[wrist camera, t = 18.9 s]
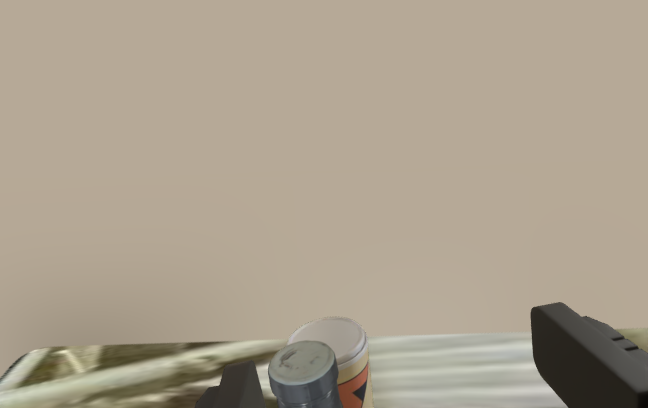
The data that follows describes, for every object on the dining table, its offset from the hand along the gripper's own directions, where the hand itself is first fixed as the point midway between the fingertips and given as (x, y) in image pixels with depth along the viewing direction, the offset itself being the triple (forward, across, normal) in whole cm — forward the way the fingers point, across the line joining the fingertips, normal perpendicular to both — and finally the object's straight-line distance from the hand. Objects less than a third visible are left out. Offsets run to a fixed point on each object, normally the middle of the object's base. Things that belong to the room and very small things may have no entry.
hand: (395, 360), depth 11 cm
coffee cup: (+30, +4, +30) cm, 42 cm away
